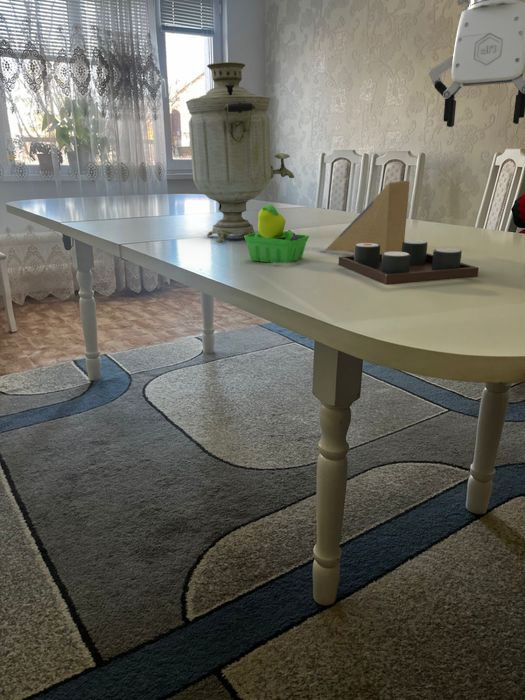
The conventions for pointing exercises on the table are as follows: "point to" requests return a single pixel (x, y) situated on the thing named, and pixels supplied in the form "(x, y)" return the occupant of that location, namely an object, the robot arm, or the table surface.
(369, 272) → the tray
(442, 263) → the corner roll
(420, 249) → the corner roll
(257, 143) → the samovar
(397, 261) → the corner roll
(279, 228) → the fruit basket
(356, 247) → the maki roll
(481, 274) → the table surface
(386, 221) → the sandwich container
